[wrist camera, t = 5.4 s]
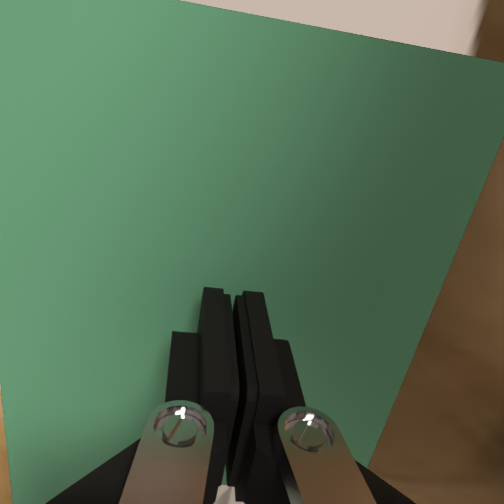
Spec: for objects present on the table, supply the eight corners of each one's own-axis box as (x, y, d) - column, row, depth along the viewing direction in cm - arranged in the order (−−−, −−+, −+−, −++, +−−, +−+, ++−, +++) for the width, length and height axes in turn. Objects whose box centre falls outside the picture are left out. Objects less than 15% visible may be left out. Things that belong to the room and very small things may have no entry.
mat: (12, -29, 12) (-104, -56, 7) (468, 57, 14) (594, 77, 9) (47, 576, 24) (11, 704, 19) (287, 574, 26) (304, 689, 21)
